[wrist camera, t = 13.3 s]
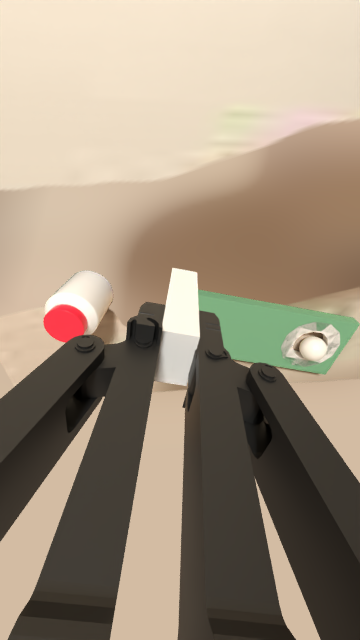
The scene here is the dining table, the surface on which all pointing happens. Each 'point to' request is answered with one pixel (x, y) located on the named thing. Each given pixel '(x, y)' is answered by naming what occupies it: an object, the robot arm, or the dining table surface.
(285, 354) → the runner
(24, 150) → the dining table surface
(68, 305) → the pill bottle
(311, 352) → the ball
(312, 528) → the robot arm
